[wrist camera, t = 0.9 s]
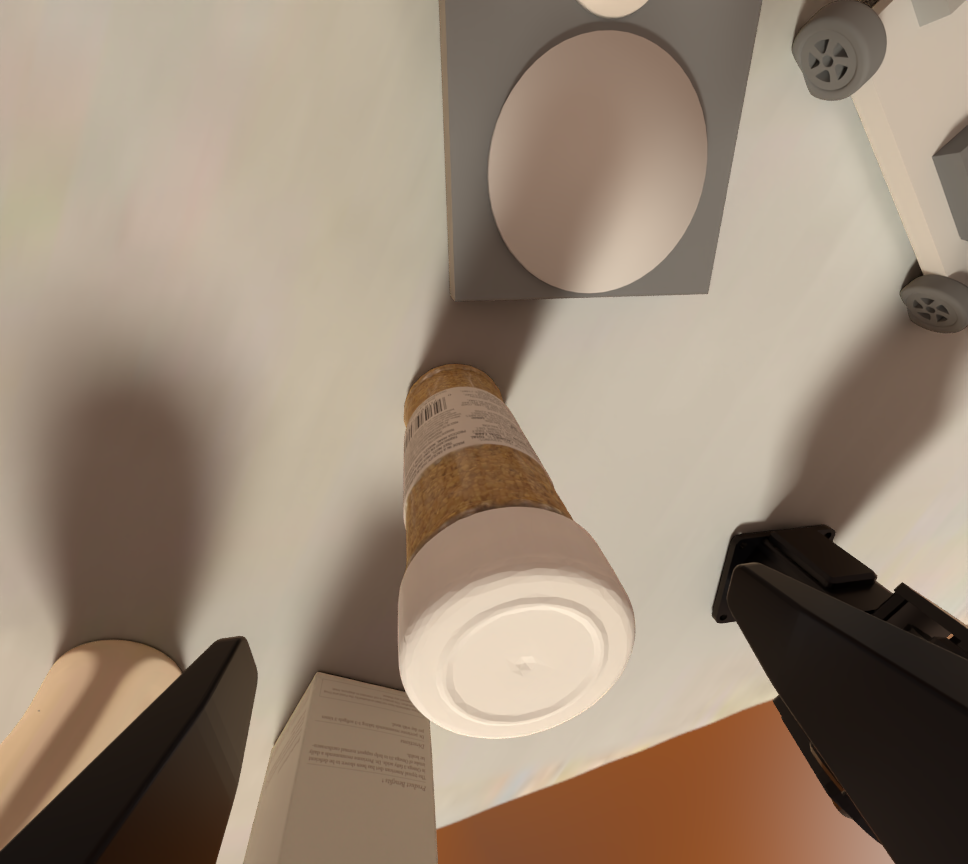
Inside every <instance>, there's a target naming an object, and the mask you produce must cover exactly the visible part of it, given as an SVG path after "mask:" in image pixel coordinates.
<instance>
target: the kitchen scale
mask: <svg viewBox="0 0 968 864" xmlns="http://www.w3.org/2000/svg"><path fill="white" fill-rule="evenodd" d="M761 5H762V0H439V19H440V45H441V71H442V98H443V124H444V150H445V177H446V203H447V230H448V256H449V282H450V295H451V297H452V298H453V299H454V301H488V300H522V299H555V298H589V297H622V296H656V295H690V294H708V291H709V285H710V280H711V275H712V269H713V264H714V258H715V253H716V248H717V242H718V237H719V231H720V226H721V221H722V215H723V210H724V204H725V199H726V194H727V188H728V183H729V177H730V172H731V167H732V161H733V156H734V150H735V145H736V140H737V134H738V129H739V124H740V118H741V113H742V107H743V102H744V97H745V91H746V86H747V80H748V75H749V70H750V64H751V59H752V53H753V48H754V43H755V37H756V32H757V26H758V21H759V16H760V10H761Z"/></svg>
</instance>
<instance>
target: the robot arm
mask: <svg viewBox="0 0 968 864" xmlns="http://www.w3.org/2000/svg"><path fill="white" fill-rule="evenodd" d="M834 536H835V530H833V529H832V528H830V527H829V526H827V525H820V526H811V527H802V528H793V529H784V530H775V531H766V532H757V533H748V534H740V535H737V536H735V537H734V538H733V539H732V540H731V543H730V547H729V550H728V554H727V558H726V562H725V566H724V570H723V573H722V577H721V581H720V585H719V589H718V593H717V596H716V600H715V604H714V608H713V612H712V617H713V618H714V619H715V621H716V622H717V623H728V622H735V621H736V622H737V624H738V625H739V627H740V629H741V631H742V632H743V634H744V636H745V638H746V640H747V641H748V643H749V645H750V647H751V648H752V650H753V652H754V654H755V655H756V657H757V659H758V661H759V662H760V664H761V666H762V668H763V669H764V671H765V673H766V675H767V676H768V678H769V680H770V681H771V683H772V685H773V686H774V688H775V689H776V691H777V692H778V694H779V695H778V696H777V697H776V698H775V699H774V700H773V702H774V704H775V706H776V708H777V709H778V711H779V712H780V714H781V716H782V717H781V718H782V720H783V722H784V723H785V725H786V726H787V728H788V730H789V732H790V733H791V735H792V736H793V738H794V740H795V741H796V743H797V745H798V746H799V748H800V750H801V751H802V753H803V755H804V756H805V758H806V759H807V761H808V763H809V764H810V766H811V768H812V769H813V771H814V773H815V774H816V776H817V778H818V779H819V781H820V783H821V784H822V786H823V788H824V789H825V791H826V792H827V794H828V795H829V797H830V798H831V799H832V802H833V804H834V806H835V807H836V808H837V809H838V811H839V812H840V813H841V814H842V815H844V816H845V817H847V818H850V819H853V820H854V821H855V822H856V823H857V824H858V825H859V826H860V827H861V828H862V829H863V830H865V832H866V833H868V834H869V835H870V836H871V837H872V838H874V839H875V840H876V841H877V842H879V843H880V844H882V845H883V847H884V848H885V849H886V851H887V853H888V854H889V856H890V857H891V858H892V860H893V861H894V863H895V864H968V626H967V625H965V624H964V623H962V622H961V621H960V620H958V619H957V618H955V617H954V616H952V615H951V614H949V613H948V612H946V611H945V610H943V609H942V608H940V607H939V606H937V605H936V604H934V603H933V602H931V601H930V600H928V599H927V598H925V597H924V596H922V595H921V594H919V593H918V592H916V591H915V590H913V589H912V588H910V587H909V586H907V585H906V584H904V583H901V584H900V585H899V586H897V587H896V588H895V589H894V591H895V593H892V592H890V591H889V590H887V589H886V588H885V587H883V586H882V585H881V584H879V583H878V582H877V581H876V579H877V575H876V574H875V573H874V571H872V570H871V569H870V568H868V567H867V566H866V565H864V564H863V563H861V562H860V561H859V560H857V559H856V558H854V557H853V556H852V555H850V554H849V553H847V552H846V551H845V550H843V549H842V548H840V547H839V546H838V545H836V544H835V543H833V539H834ZM950 634H953V635H954V636H953V637H952V638H950V639H947V638H946V637H948V636H949V635H950ZM257 680H258V673H257V668H256V665H255V662H254V659H253V656H252V653H251V650H250V647H249V644H248V641H247V639H246V638H245V637H243V636H236V637H229V638H222V639H219V640H217V641H215V642H214V643H213V644H212V645H211V646H210V647H209V648H208V649H207V650H206V651H205V652H204V653H203V654H202V655H200V656H199V657H198V658H197V659H196V660H195V661H194V662H193V663H192V664H191V665H190V666H189V667H188V668H187V669H186V670H185V671H184V672H183V673H182V674H181V675H180V676H179V677H178V678H177V679H176V680H175V681H174V682H173V683H172V684H171V685H170V686H169V687H168V688H167V689H166V690H165V691H164V692H163V693H161V694H160V695H159V696H158V697H157V698H156V699H155V700H154V701H153V702H152V703H151V704H150V705H149V706H148V707H147V708H146V709H145V710H144V711H143V712H142V713H141V714H140V715H139V716H138V717H137V718H136V719H135V720H134V721H133V722H132V723H131V724H130V725H129V726H128V727H127V728H126V729H125V730H124V731H123V732H121V733H120V734H119V735H118V736H117V737H116V738H115V739H114V740H113V741H112V742H111V743H110V744H109V745H108V746H107V747H106V748H105V749H104V750H103V751H102V752H101V753H100V754H99V755H98V756H97V757H96V758H95V759H94V760H93V761H92V762H91V763H90V764H89V765H88V766H87V767H86V768H85V769H84V770H82V771H81V772H80V773H79V774H78V775H77V776H76V777H75V778H74V779H73V780H72V781H71V782H70V783H69V784H68V785H67V786H66V787H65V788H64V789H63V790H62V791H61V792H60V793H59V794H58V795H57V796H56V797H55V798H54V799H53V800H52V801H51V802H50V803H49V804H48V805H47V806H46V807H45V808H44V809H42V810H41V811H40V812H39V813H38V814H37V815H36V816H35V817H34V818H33V819H32V820H31V821H30V822H29V823H28V824H27V825H26V826H25V827H24V828H23V829H22V830H21V831H20V832H19V833H18V834H17V835H16V836H15V837H14V838H13V839H12V840H11V841H10V842H9V843H8V844H7V845H6V846H5V847H3V848H2V849H1V850H0V864H216V861H217V857H218V854H219V850H220V847H221V844H222V840H223V837H224V833H225V830H226V826H227V823H228V819H229V816H230V812H231V809H232V806H233V802H234V798H235V794H236V791H237V787H238V782H239V777H240V773H241V768H242V763H243V757H244V752H245V746H246V741H247V736H248V730H249V725H250V720H251V714H252V709H253V704H254V698H255V693H256V688H257Z"/></svg>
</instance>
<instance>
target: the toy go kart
mask: <svg viewBox="0 0 968 864" xmlns="http://www.w3.org/2000/svg"><path fill="white" fill-rule="evenodd" d="M792 53H793V56H794V58H795V60H796V62H797V64H798V66H799V67H800V69H801V70H802V72H803V75H804V79H805V82H806V85H807V87H808V90H809V92H810V94H811V95H813V96H814V97H817V98H819V99H822V100H828V101H834V100H841V99H844V98H846V97H849V96H850V95H851V97H852V100H853V102H854V105H855V107H856V109H857V112H858V114H859V117H860V119H861V122H862V124H863V127H864V129H865V132H866V134H867V137H868V139H869V142H870V144H871V147H872V149H873V151H874V154H875V156H876V159H877V161H878V164H879V166H880V169H881V171H882V174H883V176H884V179H885V181H886V184H887V186H888V188H889V191H890V193H891V196H892V198H893V201H894V203H895V206H896V208H897V211H898V213H899V216H900V218H901V221H902V223H903V226H904V228H905V230H906V233H907V235H908V238H909V240H910V243H911V245H912V248H913V250H914V253H915V255H916V258H917V260H918V263H919V265H920V267H921V270H922V272H923V275H924V276H920V277H917V278H915V279H914V280H913V281H911V282H910V283H909V284H908V285H907V286H905V287H904V288H903V289H902V290H901V291H900V297H901V299H902V301H903V302H904V304H905V305H906V306H907V309H908V314H909V317H910V319H911V321H912V322H914V323H915V324H917V325H919V326H921V327H923V328H925V329H928V330H931V331H934V332H939V333H955V332H958V331H961V330H963V329H964V328H966V327H967V326H968V0H879V1H878V2H877V3H876V4H875V5H874V6H873V7H872V8H870V7H869V6H867V5H866V4H864V3H861V2H859V1H855V0H839V1H835V2H832V3H830V4H828V5H826V6H825V7H823V8H822V9H820V10H819V11H818V12H817V13H816V14H815V15H814V16H813V17H812V18H811V19H810V20H809V21H808V22H807V23H806V24H805V25H804V26H803V27H802V28H801V30H800V31H799V32H798V34H797V36H796V38H795V40H794V42H793V46H792Z"/></svg>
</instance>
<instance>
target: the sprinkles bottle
mask: <svg viewBox="0 0 968 864" xmlns="http://www.w3.org/2000/svg"><path fill="white" fill-rule="evenodd" d="M404 422H405V426H406V431H405V436H404V480H403V517H404V524H405V529H406V542H407V544H406V552H407V559H406V561H407V564H406V570H405V573H404V576H403V579H402V582H401V586H400V591H399V600H398V659H399V671H400V676H401V680H402V683H403V686H404V689H405V691H406V693H407V695H408V697H409V699H410V700H411V702H412V703H413V705H414V706H415V707H416V708H417V709H418V710H419V711H420V712H421V713H422V714H423V715H424V716H425V717H426V718H428V719H429V720H431V721H432V722H434V723H435V724H437V725H439V726H441V727H442V728H444V729H447V730H449V731H452V732H454V733H457V734H462V735H466V736H470V737H479V738H488V739H493V738H513V737H519V736H525V735H530V734H534V733H537V732H541V731H544V730H547V729H550V728H553V727H555V726H557V725H560V724H562V723H564V722H566V721H568V720H570V719H572V718H573V717H575V716H577V715H579V714H581V713H582V712H583V711H585V710H586V709H588V708H589V707H591V706H592V705H593V704H594V703H595V702H597V701H598V700H599V699H600V698H601V697H602V696H604V695H605V694H606V692H607V691H608V690H609V689H610V688H611V687H612V686H613V685H614V683H615V682H616V681H617V679H618V678H619V677H620V675H621V674H622V672H623V670H624V669H625V667H626V664H627V662H628V660H629V657H630V655H631V652H632V648H633V644H634V639H635V619H634V612H633V608H632V605H631V603H630V600H629V598H628V595H627V593H626V592H625V590H624V588H623V586H622V585H621V583H620V581H619V579H618V577H617V576H616V574H615V572H614V570H613V569H612V567H611V566H610V564H609V562H608V561H607V559H606V557H605V556H604V554H603V553H602V551H601V549H600V548H599V546H598V544H597V543H596V542H595V540H594V539H593V538H592V536H591V535H590V534H589V533H588V532H587V531H586V530H585V529H584V528H582V527H581V526H580V525H579V524H577V523H576V522H575V521H573V519H572V517H571V515H570V514H569V512H568V511H567V509H566V507H565V506H564V504H563V502H562V501H561V499H560V498H559V496H558V495H557V493H556V491H555V489H554V486H553V483H552V481H551V479H550V477H549V475H548V473H547V472H546V470H545V468H544V467H543V465H542V463H541V461H540V460H539V458H538V456H537V455H536V453H535V451H534V450H533V448H532V447H531V445H530V443H529V442H528V440H527V438H526V437H525V435H524V433H523V432H522V430H521V428H520V426H519V425H518V423H517V421H516V419H515V418H514V416H513V414H512V413H511V411H510V410H509V408H508V407H507V406H506V405H505V404H504V402H503V400H502V396H501V393H500V390H499V388H498V387H497V386H496V385H495V384H494V382H493V380H492V379H491V378H490V377H489V376H488V375H486V374H485V373H484V372H483V371H481V370H478V369H477V368H475V367H472V366H470V365H463V364H447V365H444V366H439V367H436V368H434V369H431V370H430V371H428V372H427V373H426V374H424V375H422V376H421V377H420V378H419V379H418V381H417V382H416V383H414V384H413V386H412V387H411V389H410V391H409V393H408V395H407V398H406V401H405V405H404Z"/></svg>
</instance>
